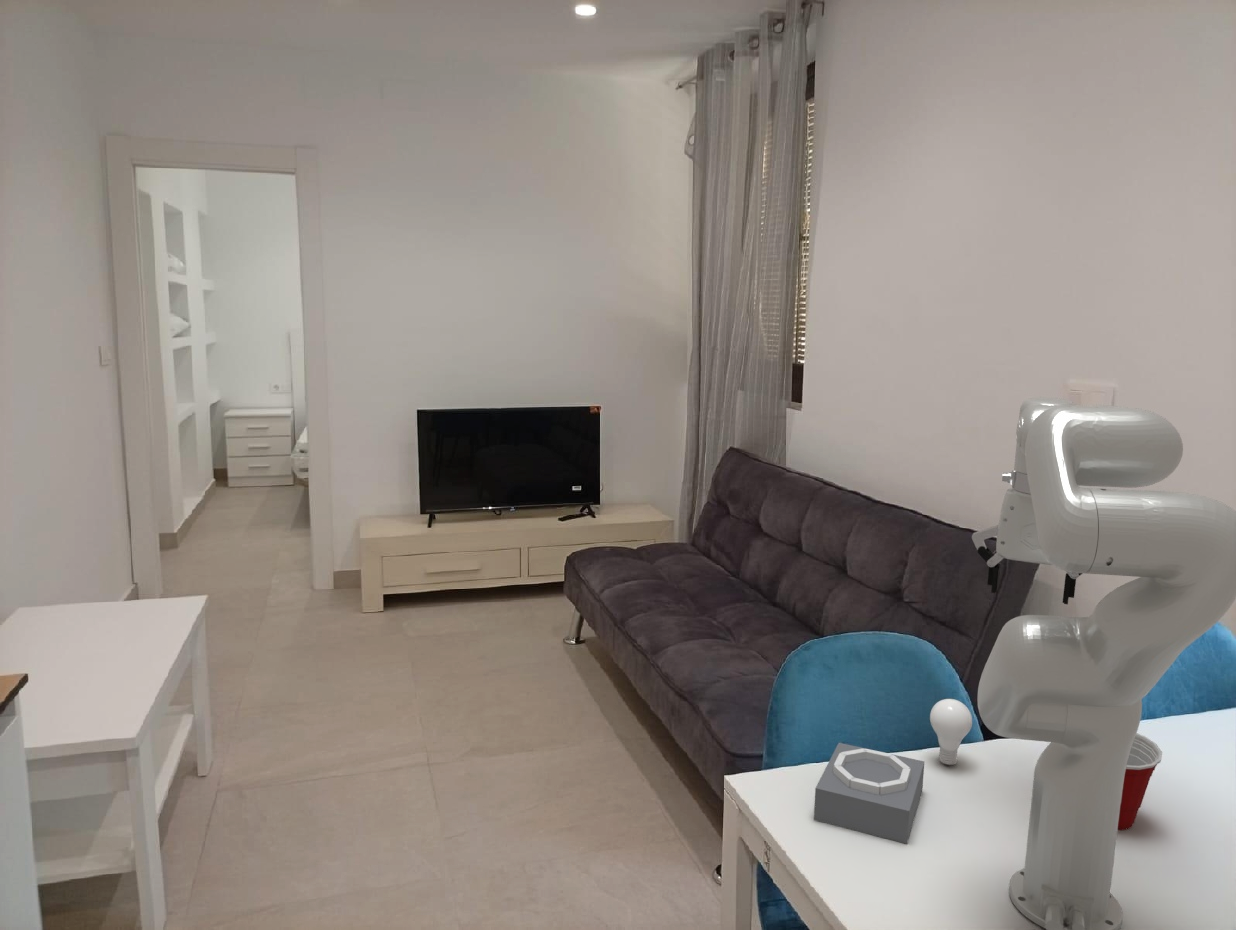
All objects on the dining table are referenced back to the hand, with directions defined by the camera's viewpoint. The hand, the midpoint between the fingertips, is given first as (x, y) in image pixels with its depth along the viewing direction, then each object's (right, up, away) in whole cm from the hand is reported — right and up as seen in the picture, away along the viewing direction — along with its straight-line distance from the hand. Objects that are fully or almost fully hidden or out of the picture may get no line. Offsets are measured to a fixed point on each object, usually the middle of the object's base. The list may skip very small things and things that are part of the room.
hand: (1029, 595), depth 132 cm
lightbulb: (-8, -29, +12) cm, 33 cm away
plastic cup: (+10, -32, -3) cm, 34 cm away
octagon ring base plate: (-23, -31, +2) cm, 39 cm away
